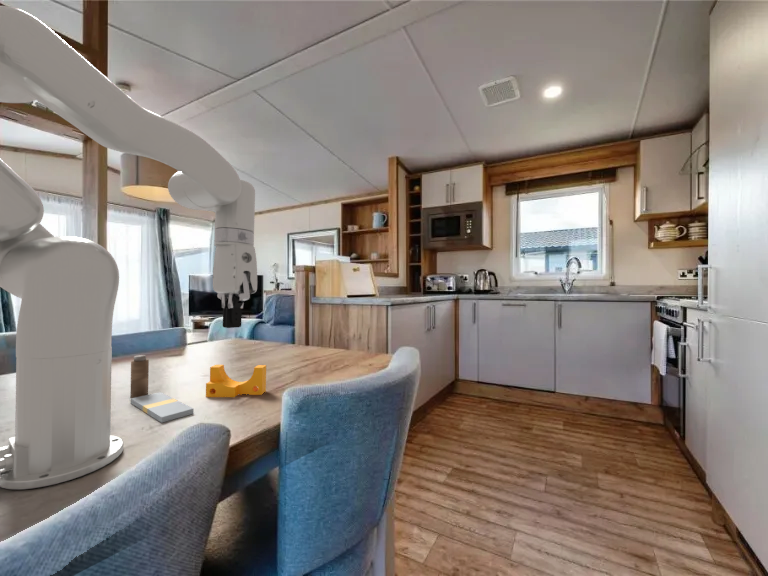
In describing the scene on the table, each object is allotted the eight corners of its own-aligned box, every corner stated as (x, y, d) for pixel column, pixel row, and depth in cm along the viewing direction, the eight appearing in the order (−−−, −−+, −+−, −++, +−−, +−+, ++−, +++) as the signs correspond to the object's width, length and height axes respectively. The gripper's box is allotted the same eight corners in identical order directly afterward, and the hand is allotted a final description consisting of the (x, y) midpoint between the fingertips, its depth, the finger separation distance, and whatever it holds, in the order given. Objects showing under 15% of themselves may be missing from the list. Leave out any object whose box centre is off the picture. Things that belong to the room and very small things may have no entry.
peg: (133, 399, 71) (134, 358, 71) (128, 396, 73) (128, 356, 73) (150, 395, 74) (151, 355, 74) (144, 392, 76) (145, 353, 75)
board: (161, 422, 59) (161, 417, 59) (130, 403, 69) (130, 398, 69) (193, 413, 64) (193, 408, 64) (160, 396, 73) (160, 392, 73)
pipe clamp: (205, 397, 73) (206, 369, 73) (215, 391, 78) (215, 364, 78) (259, 398, 74) (259, 369, 74) (265, 392, 78) (266, 365, 78)
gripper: (271, 240, 67) (268, 329, 67) (232, 244, 76) (230, 323, 76) (236, 234, 61) (233, 332, 61) (199, 240, 70) (196, 325, 70)
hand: (232, 327), depth 68 cm, fingers closed
